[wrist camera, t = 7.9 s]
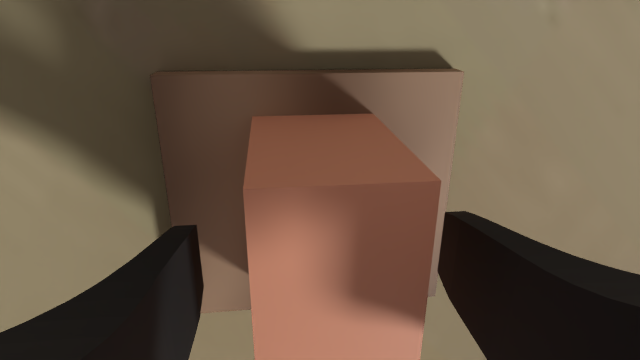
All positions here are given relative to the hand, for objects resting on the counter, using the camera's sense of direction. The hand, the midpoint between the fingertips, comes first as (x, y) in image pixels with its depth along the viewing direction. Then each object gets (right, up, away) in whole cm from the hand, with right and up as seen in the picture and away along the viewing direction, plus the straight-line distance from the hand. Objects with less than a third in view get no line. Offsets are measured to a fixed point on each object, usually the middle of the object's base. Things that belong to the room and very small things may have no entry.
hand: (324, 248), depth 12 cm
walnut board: (0, +2, +4) cm, 4 cm away
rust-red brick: (0, +1, +3) cm, 3 cm away
